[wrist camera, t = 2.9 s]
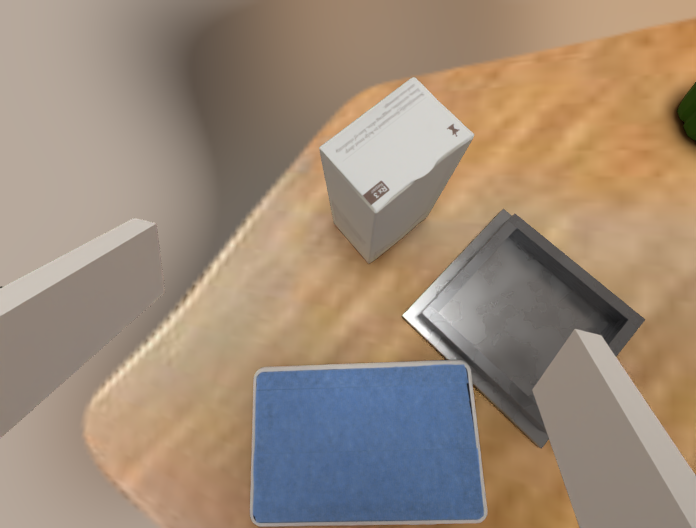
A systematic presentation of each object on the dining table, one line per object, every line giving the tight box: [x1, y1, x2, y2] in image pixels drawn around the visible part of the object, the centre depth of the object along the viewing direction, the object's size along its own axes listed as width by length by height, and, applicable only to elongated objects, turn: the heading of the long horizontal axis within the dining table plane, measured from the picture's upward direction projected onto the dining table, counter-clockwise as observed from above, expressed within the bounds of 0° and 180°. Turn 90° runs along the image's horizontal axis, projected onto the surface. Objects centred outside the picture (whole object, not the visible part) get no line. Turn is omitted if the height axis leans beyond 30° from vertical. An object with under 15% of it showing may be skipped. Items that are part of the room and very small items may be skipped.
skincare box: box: [319, 77, 474, 263], centre depth 28 cm, size 8×6×15 cm
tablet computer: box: [250, 360, 487, 527], centre depth 29 cm, size 19×13×1 cm, turn 92°
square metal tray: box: [401, 209, 645, 448], centre depth 31 cm, size 15×16×3 cm
